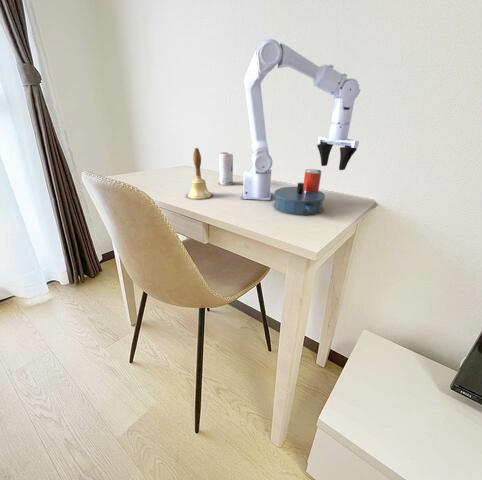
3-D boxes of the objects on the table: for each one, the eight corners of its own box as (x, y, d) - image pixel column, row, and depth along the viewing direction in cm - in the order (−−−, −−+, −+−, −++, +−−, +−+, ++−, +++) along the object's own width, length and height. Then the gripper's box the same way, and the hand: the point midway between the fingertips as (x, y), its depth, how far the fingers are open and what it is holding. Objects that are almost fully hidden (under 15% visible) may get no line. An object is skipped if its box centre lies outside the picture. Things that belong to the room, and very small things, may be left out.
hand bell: (183, 197, 89) (178, 149, 82) (195, 191, 96) (192, 146, 89) (204, 200, 87) (201, 150, 79) (215, 193, 93) (214, 147, 86)
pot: (287, 220, 72) (289, 206, 70) (267, 198, 90) (268, 187, 88) (334, 217, 75) (337, 204, 73) (305, 196, 92) (307, 185, 90)
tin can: (303, 192, 81) (305, 171, 78) (302, 188, 85) (304, 168, 82) (319, 193, 80) (322, 172, 77) (317, 189, 84) (320, 169, 81)
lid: (284, 206, 73) (285, 191, 71) (268, 190, 86) (269, 178, 84) (334, 203, 75) (337, 189, 73) (311, 188, 89) (312, 176, 87)
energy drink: (233, 182, 109) (233, 152, 103) (231, 185, 104) (231, 154, 98) (220, 181, 109) (220, 152, 104) (218, 185, 104) (218, 154, 99)
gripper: (369, 124, 77) (358, 170, 84) (330, 122, 88) (324, 163, 95) (353, 125, 74) (344, 172, 80) (316, 122, 85) (310, 164, 91)
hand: (332, 167), depth 87 cm, fingers open, 7 cm apart
